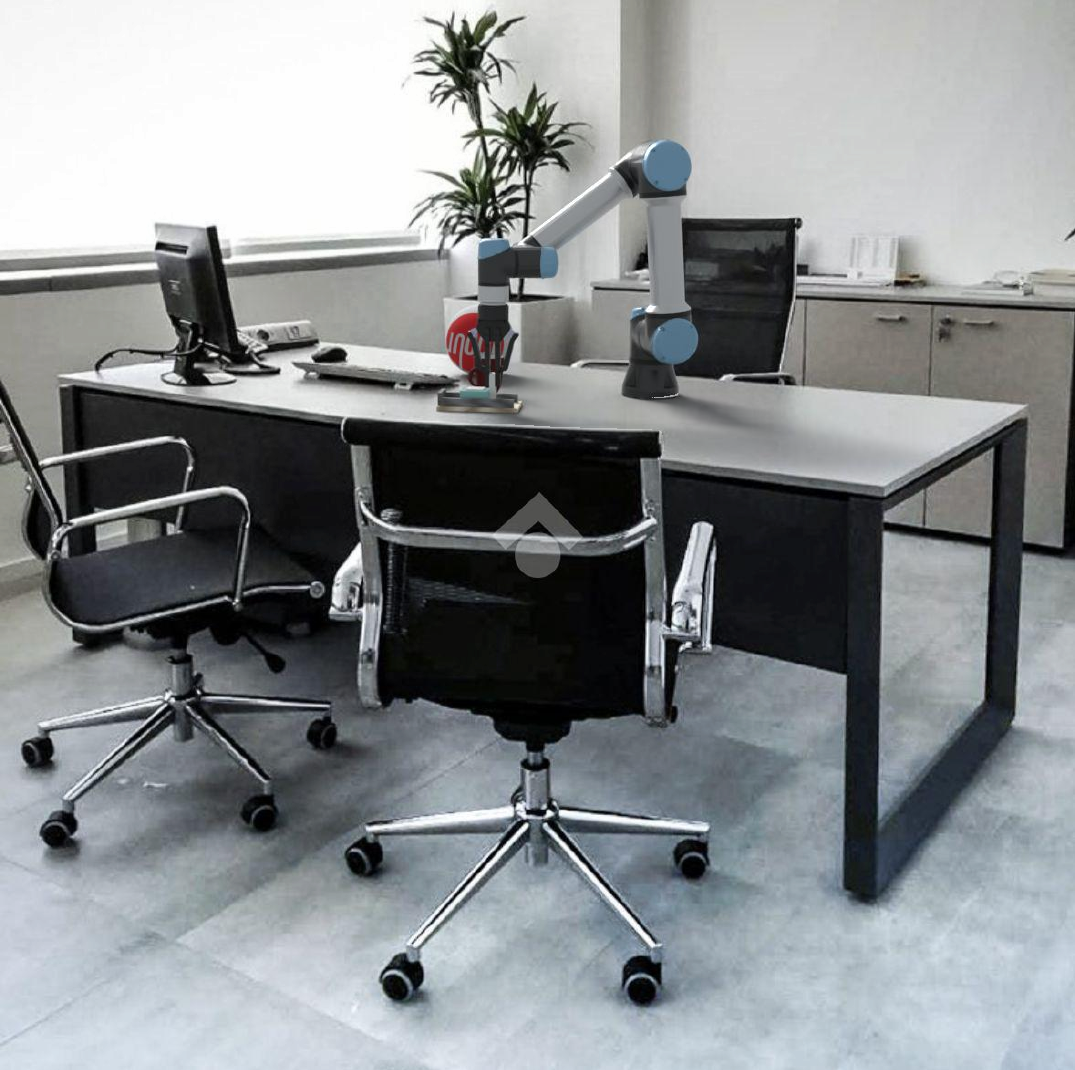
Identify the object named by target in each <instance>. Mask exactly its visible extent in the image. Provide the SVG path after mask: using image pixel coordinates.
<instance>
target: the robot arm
mask: <svg viewBox="0 0 1075 1070" xmlns="http://www.w3.org/2000/svg"><path fill="white" fill-rule="evenodd" d="M692 168H693V165H692V158H691V157H690V154H689V152H688V150H687V149H686V148H685V147H684V146H683V145H682V144H680V143H679V142H676V141H673V140H671V139H659V140H646V141H642V142H640V143H639V144H637V145H635V146H634V147H633V148H632V149H630V150H629V151H627V153H626V154H624V155H623V156H622V157H621V158H620V159H618V160H617V161H616V162H615V163H614V164H612V165H611V166H610V167H608V172H607V174H606V175H605V176H604V177H602V178H601V179H600V180H598V181H597V182H595V184H593V185H592V186H591V187H589V188H588V189H586V190H585V191H584V192H583V193H582V194H580V195H579V196H578V197H576V198H575V199H574V200H572V201H571V202H570V203H568V204H567V205H566V206H564V208H562V209H561V210H559V211H558V212H557V213H556V214H554V215H553V216H552V217H550V218H549V219H548V220H546V221H545V222H544V223H543V224H541V225H540V226H538V227H537V228H536V229H535V230H534V231H532V232H530V234H529V235H527V236H526V237H524V238H523V239H522V240H520V241H519V242H515V243H511V244H510V241H509V239H507V238H500V237H499V238H497V237H496V238H495V237H484V238H482V239H480V240H479V241H478V247H477V248H478V252H477V302H479V303H478V304H477V305H478V322H477V324H476V328H475V329H473V330H471V331H469V332H468V333H467V336H468V338H469V339H470V341H471V344H472V348H473V352H474V357H475V361H476V365H477V369H478V370H479V371H482V372H484V373H485V386H489V399H496V386H500V384H501V385H502V383H501V373H502V372H503V373H504V372H507V370H508V369H509V365H510V362H511V359H512V355H513V352H514V349H513V347H514V348H515V343H516V340H517V339H518V338H519V336H520V333H519V332H518V331H515V330H514V329H513V328H512V329H513V330H512V329H511V327H510V324H511V323H510V324H509V322H510V321H509V306H510V305H508V304H507V303H508V302H509V300H510V299H509V297H510V296H509V295H510V294H509V293H510V292H509V291H510V288H509V287H510V285H509V284H510V283H509V282H510V279H541V280H544V279H553V278H555V277H556V276H557V275H558V271H559V254H558V251H559V250H561V248H563V247H565V246H566V245H567V244H569V243H570V242H571V241H572V240H574V239H575V238H576V237H578V236H579V235H580V234H582V233H583V232H584V231H585V230H586V229H588V228H589V227H591V226H592V225H593V224H595V223H596V222H597V221H598V220H599V219H601V218H602V217H603V216H605V215H606V214H607V213H609V212H611V210H613V209H614V208H615V207H617V206H618V205H620V203H623V201H624V200H631V201H632V200H633V198H636V197H637V196H639V201H641V202H642V203H643V204H644V206H645V213H646V215H645V216H646V217H645V218H646V219H645V220H646V235H647V237H646V238H647V239H646V240H647V256H648V257H647V259H648V277H649V280H648V281H649V301H650V302H649V304H648V306H646V307H634V308H633V309H632V310H631V312H630V318H629V323H630V324H629V325H630V326H629V327H630V328H629V350H628V351H629V354H628V355H629V357H628V361H629V362H628V367H627V370H626V373H625V375H624V378H623V380H622V384H621V394H622V395H623V396H625V397H630V398H634V397H638V398H637V399H645V398H652V397H653V398H654V397H664V396H670V395H675V394H677V393H679V390H680V387H679V383H678V380H677V376H676V373H675V368H674V365H679V364H682V363H684V362H686V361H687V360H689V359H690V358H691V357H692V356H693V354H694V353H695V352H696V350H697V347H698V345H699V344H698V343H699V334H698V331H697V328H696V326H695V325H694V324H693V321H692V319H693V317H692V307H691V305H689V304H688V303H687V302H686V301H685V276H684V273H685V272H684V254H683V253H684V249H683V227H682V225H683V224H682V202H683V201H684V200H685V199H686V197H687V196H688V195H687V193H688V192H687V183H688V181H689V179H690V176H691V174H692ZM477 332H478V333H479V334H480V336H481V337H482V339H483V340H484V345H485V366H483V363H482V359H481V354H480V350H479V346H478V342H477V338H476V337H477ZM507 333H509V339H510V341H509V344H508V348H507V352H506V356H505V360H504V364H503V366H502V367H501V341H502V340H503V339H504V337H505V336H506V334H507ZM491 341H493V342H495V372H490V371H491ZM512 351H513V352H512ZM500 387H501V386H500ZM679 394H680V393H679Z"/></svg>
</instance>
